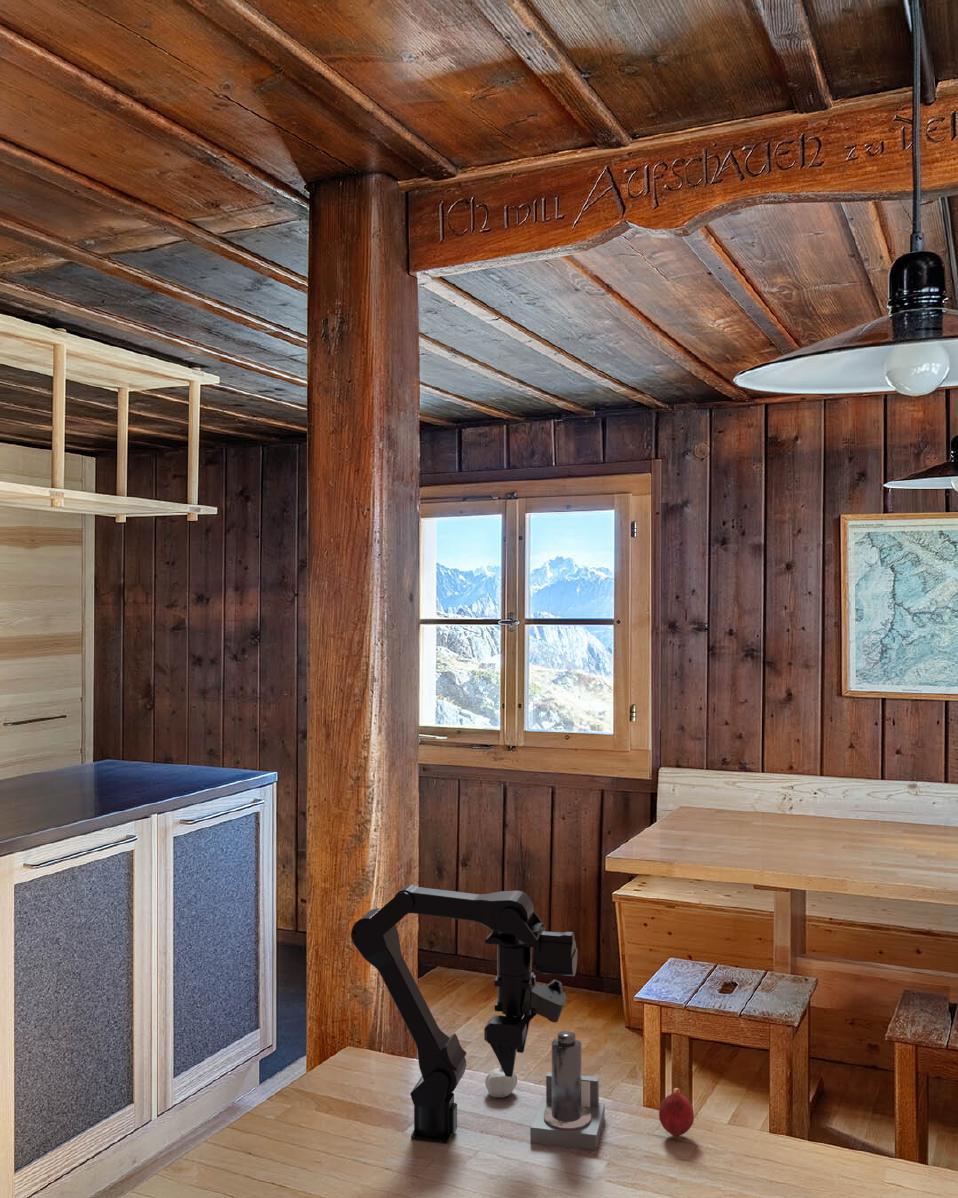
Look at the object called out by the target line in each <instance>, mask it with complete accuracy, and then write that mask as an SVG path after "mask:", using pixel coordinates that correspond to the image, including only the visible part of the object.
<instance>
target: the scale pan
mask: <svg viewBox="0 0 958 1198" xmlns="http://www.w3.org/2000/svg"><path fill="white" fill-rule="evenodd" d="M544 1120H545V1122H546V1123H547V1124H548V1125H550V1126H552V1127H554V1128H557V1129H562V1130H576V1129H581V1128H583V1127H586V1126H587V1125H588V1124H589V1123H590V1122H591V1113H590V1111H589V1110H588V1109H586V1108H585V1107H583V1106H581V1118H580V1119H578V1120H576V1121H572V1122H563V1121H559V1120H556V1119H555V1118H554V1117H553V1116H552V1106H550V1107H548V1108H547V1109H546V1110H545V1111H544Z"/></svg>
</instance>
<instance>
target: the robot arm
mask: <svg viewBox="0 0 958 1198" xmlns="http://www.w3.org/2000/svg"><path fill="white" fill-rule="evenodd" d="M408 914H415V915H425V916H430V917H431V916H432V917H438V918H446V919H452V920H453V919H454V920H461V921H462V920H463V921H469V922H470V921H471V922H475V923H478V924H481V925H483V926H484V927H486V928H488V929H490V930H492V931H491V932H490V933H489V934H488V935H487V937H486V938H485V940H484V943H485V944H486V945H493V946H494V945H496V957H497V958H496V963H497V964H496V970H497V973H496V976H495V979H494V987H497V990H496V991H497V995H496V996H497V999H496V1002H495V1003H494V1011H495V1012H501V1013H502V1015H499V1014H498V1015H496V1014H495V1015H492V1017H491V1018H490V1019H488V1022H487V1023H486V1025H485V1026H484V1028H483V1031H484V1033H483V1036H484V1037H483V1038H484V1041H486V1043H487V1044H489V1045H490V1047H491V1049H492V1051H493V1052H494V1054H495V1057H496V1059H497V1060H498V1063H499V1065H500V1068H501V1067H502V1069H503V1071H504V1074H505V1076H507V1077H512V1075H513V1072H514V1070H515V1064H516V1058H517V1053H518V1054H523V1053H524V1052H525V1047H526V1043H527V1038H528V1033H529V1029H530V1023H531V1020H532V1019H534V1017H535V1016H537V1015H539V1016H540V1017H543V1018H546V1019H547V1021H549V1022H550V1023H551V1022H552V1023H558V1022H559V1019H560V1018H561V1015H562V1012H563V1010H564V1006H565V1004H566V1001H567V998H568V997H567V996H566V993H565V992H563V991H564V990H563V984H562V982H561V981H559V980H557V979H553V980H551V981H550V982H549V983H548V984H546V983H543V985H542V984H540V983H537V980H536V979H537V978H536V977H537V976H536V974H535V973H534V972H532V968H533V967H532V962H533V966H534V967H535V970H536V971H539V973H540V974H543V975H544V974H545V975H555V976H557V975H558V976H568V977H575V976H576V973H577V967H578V948H577V944H576V943H577V942H576V940H575V932H574V931H563V932H559V931H546V927H547V926H546V925H545V924H544V923H543V921H542V920H541V918H540V917H539V916H538V914H537V913H536V911H535V908H534V903H533V901H532V899H531V898H530V896H529V895H528V894H527V893H526V892H524V891H522V890H504V891H502V890H501V891H496V892H490V893H489V892H488V893H480V894H479V893H472V892H471V893H469V892H463V891H454V890H445V889H438V888H429V887H420V886H417V885H414V884H407V885H405V886H403V887H402V888H401V889H400V890H399V891H398V892H396V893H395V894H394V897H393V898H392V899H390V900H389V901H388V902H387V903H386V904H384V905H383V906H382V907H381V908H379V907H376V908H375V907H374V908H371V909H369V910H368V911H367V912H366V913H365V914H364V915H363V916H361V917H360V918H359V919H358V920H357V921H356V922H355V923H354V924H353V926H352V929H351V932H350V938H351V941H352V943H353V945H354V947H355V948H356V950H357V951H358V952H359V954H360V955H361V956H362V958H363V960H365V961H366V962H368V963H369V964H370V965H371V966H372V967H374V968H375V969H376V970H377V972H378V974H379V975H380V976H381V979H382V982H383V983H384V985H385V987H386V990H388V993H389V994H390V997H391V998H392V1001H393V1002H394V1004H395V1006H396V1008H397V1010H398V1012H399V1014H400V1017H401V1018H402V1020H403V1023H404V1024H405V1026H406V1028H407V1030H408V1032H409V1034H410V1035H411V1038H412V1040H413V1042H414V1044H415V1046H416V1052H417V1060H418V1067H419V1070H420V1074H421V1077H420V1078H419V1079H418V1082H416V1084H415V1086H414V1087H413V1089H412V1090H411V1091H410V1098H411V1100H412V1104H413V1128H414V1129H413V1130H412V1132H411V1133H410V1138H411V1139H412V1140H419V1141H427V1142H437V1143H443V1144H446V1143H448V1142H449V1141H450V1140H451V1137H452V1136H453V1135H454V1134H455V1132H456V1129H457V1128H458V1104H457V1102H455V1092H454V1091H455V1089H456V1088H457V1087H458V1084H459V1083H460V1081H461V1080H462V1078H463V1076H464V1074H465V1072H466V1068H467V1060H466V1055H467V1051H466V1050H465V1049H464V1048H463V1047H462V1045H461V1043H460V1040H459V1038H458V1036H457V1034H456V1033H452V1034H451V1035H449V1036H448V1035H447V1034H445V1032H443V1031H442V1030H441V1029H440V1027H439V1026H438V1023H437V1022H436V1019H435V1018H434V1016H433V1013H432V1012H431V1009H430V1008H429V1006H428V1004H427V1002H426V999H425V998H424V996H423V994H422V992H421V990H420V988H419V987H418V984H417V982H416V980H415V978H414V977H413V975H412V972H411V971H410V969H409V967H408V965H407V963H406V960H405V959H404V957H403V954H402V950H401V941H400V935H399V932H398V927H397V924H398V922H400V921H401V920H402V919H403V918H405V917H406V916H407V915H408ZM532 948H533V954H532ZM532 956H533V957H532Z"/></svg>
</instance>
